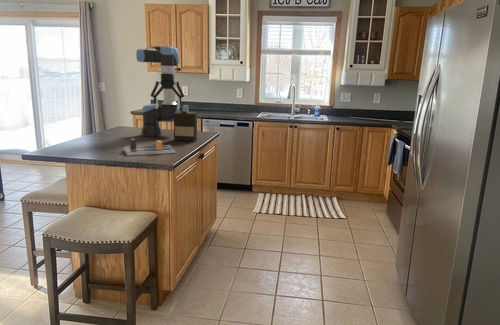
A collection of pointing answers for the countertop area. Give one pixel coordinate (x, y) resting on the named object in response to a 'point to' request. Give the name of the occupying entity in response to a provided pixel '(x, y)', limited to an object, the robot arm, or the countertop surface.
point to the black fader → (133, 143)
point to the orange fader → (159, 145)
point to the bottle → (185, 125)
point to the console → (148, 150)
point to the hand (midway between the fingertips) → (167, 108)
